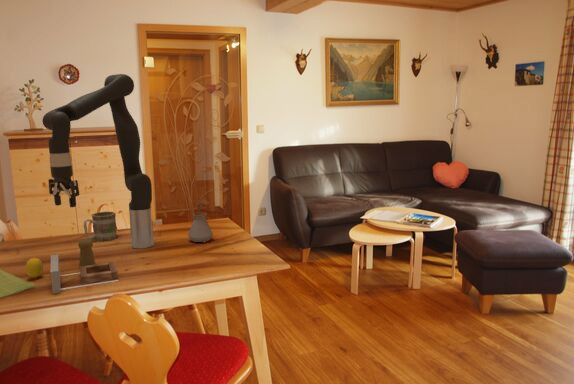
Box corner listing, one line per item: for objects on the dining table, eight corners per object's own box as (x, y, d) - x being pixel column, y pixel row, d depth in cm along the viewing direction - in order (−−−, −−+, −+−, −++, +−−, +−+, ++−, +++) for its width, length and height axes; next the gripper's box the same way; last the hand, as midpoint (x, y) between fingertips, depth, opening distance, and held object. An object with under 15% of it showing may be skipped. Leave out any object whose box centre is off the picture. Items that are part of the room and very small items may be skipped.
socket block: (114, 269, 182) (113, 261, 181) (117, 279, 171) (117, 271, 171) (80, 274, 177) (79, 266, 176) (81, 285, 166) (81, 277, 166)
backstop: (113, 267, 185) (111, 247, 184) (119, 284, 168) (117, 262, 166) (53, 275, 176) (50, 255, 175) (52, 294, 159) (50, 272, 157)
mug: (108, 234, 232) (107, 210, 230) (122, 237, 226) (120, 213, 224) (79, 241, 220) (76, 216, 218) (92, 245, 214) (90, 219, 212)
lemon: (31, 275, 176) (28, 255, 175) (46, 275, 177) (44, 254, 175) (24, 281, 171) (21, 260, 170) (40, 280, 171) (37, 259, 170)
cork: (89, 269, 183) (87, 242, 180) (75, 268, 184) (73, 241, 182) (98, 264, 188) (96, 238, 186) (85, 263, 190) (83, 237, 188)
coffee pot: (213, 243, 216) (212, 211, 214) (188, 244, 214) (186, 212, 211) (211, 231, 237) (210, 201, 234) (188, 232, 235) (186, 203, 232)
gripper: (82, 164, 180) (86, 205, 183) (57, 162, 187) (61, 202, 190) (64, 166, 174) (69, 209, 177) (40, 165, 180) (44, 206, 183)
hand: (65, 206), depth 183 cm, fingers open, 8 cm apart
